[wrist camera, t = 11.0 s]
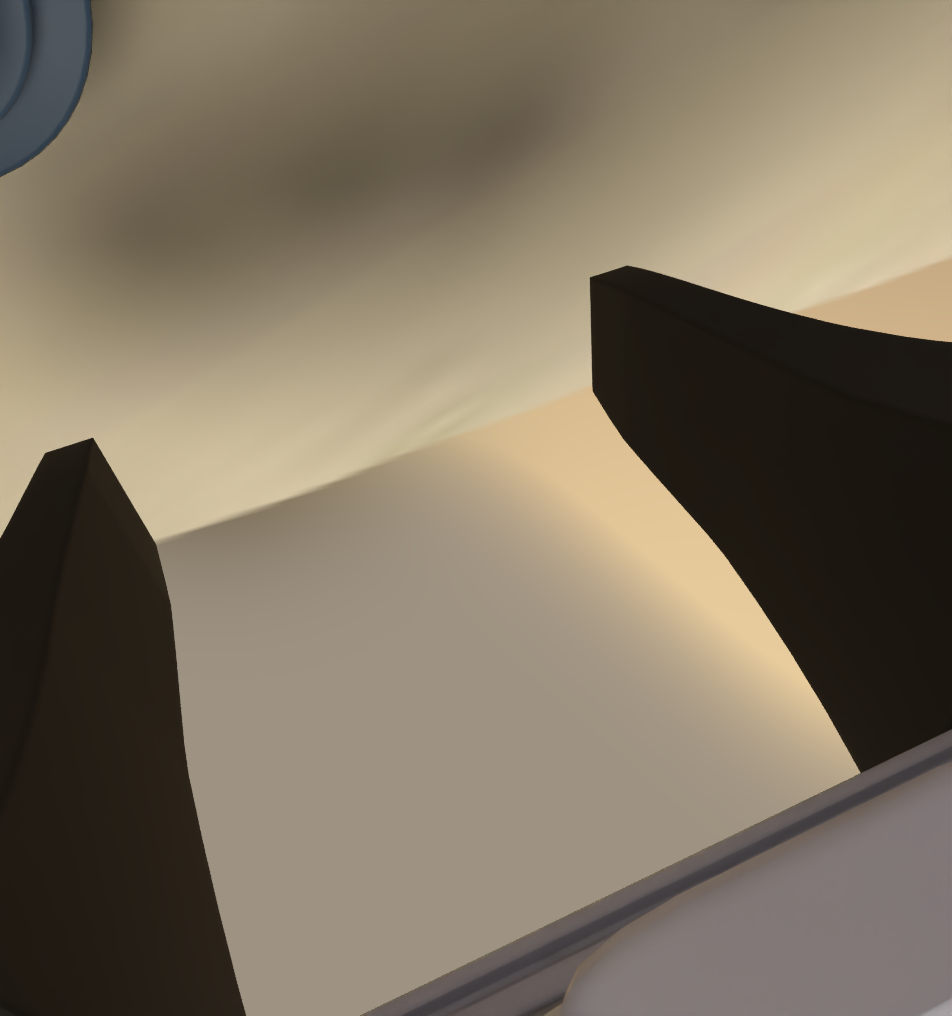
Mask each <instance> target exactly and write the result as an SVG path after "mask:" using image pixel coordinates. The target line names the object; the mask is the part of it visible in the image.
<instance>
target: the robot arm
mask: <svg viewBox="0 0 952 1016" xmlns="http://www.w3.org/2000/svg"><path fill="white" fill-rule="evenodd" d="M590 301H591V344H592V386H593V392H594V394H595V396H596V397H597V399H598V400H599V402H600V404H601V405H602V407H603V409H604V410H605V412H606V413H607V415H608V417H609V418H610V420H611V421H612V423H613V424H614V426H615V427H616V428H617V430H618V432H619V433H620V435H621V436H622V438H623V439H624V440H625V441H626V443H627V444H628V445H629V446H630V447H631V449H632V450H633V451H634V452H635V453H636V454H637V456H638V457H639V458H640V459H641V460H642V461H643V462H644V464H646V466H647V467H648V468H649V469H650V470H651V472H652V473H653V474H654V475H655V476H656V477H657V478H658V479H659V480H660V481H661V483H662V484H663V485H664V486H665V487H666V488H667V490H668V491H669V492H670V493H671V494H672V495H673V496H674V497H675V498H676V500H677V501H678V502H679V503H680V504H681V505H682V506H683V507H684V509H685V510H686V511H687V512H688V513H689V514H690V515H691V516H692V518H693V519H694V520H695V521H696V522H697V523H698V524H699V525H700V526H701V528H702V529H703V530H704V531H705V532H706V533H707V534H708V535H709V537H710V538H711V539H712V540H713V542H714V543H715V544H716V545H717V547H718V548H719V549H720V550H721V552H722V553H723V554H724V555H725V557H726V558H727V559H728V560H729V562H730V564H731V565H732V567H733V568H734V569H735V571H736V572H737V574H738V575H739V576H740V578H741V579H742V581H743V582H744V584H745V585H746V586H747V588H748V589H749V591H750V592H751V593H752V595H753V597H754V598H755V599H756V601H757V602H758V604H759V605H760V607H761V608H762V610H763V611H764V613H765V614H766V616H767V617H768V619H769V620H770V622H771V624H772V625H773V627H774V628H775V630H776V631H777V633H778V634H779V636H780V637H781V639H782V640H783V642H784V643H785V645H786V646H787V648H788V649H789V651H790V652H791V654H792V656H793V657H794V659H795V661H796V662H797V664H798V666H799V667H800V669H801V671H802V672H803V674H804V675H805V677H806V679H807V680H808V682H809V684H810V685H811V687H812V689H813V690H814V692H815V693H816V695H817V697H818V698H819V700H820V702H821V703H822V705H823V707H824V708H825V710H826V712H827V713H828V715H829V717H830V719H831V721H832V722H833V724H834V726H835V728H836V730H837V731H838V733H839V735H840V736H841V738H842V740H843V742H844V744H845V745H846V747H847V749H848V751H849V753H850V754H851V756H852V758H853V760H854V762H855V763H856V765H857V767H858V769H859V771H860V772H861V773H860V774H858V775H856V776H854V777H852V778H850V779H848V780H846V781H844V782H842V783H840V784H838V785H836V786H833V787H832V788H829V789H827V790H825V791H823V792H821V793H819V794H817V795H815V796H813V797H811V798H809V799H807V800H805V801H803V802H800V803H799V804H796V805H794V806H792V807H790V808H788V809H786V810H784V811H782V812H780V813H778V814H776V815H774V816H772V817H770V818H767V819H765V820H763V821H761V822H760V823H757V824H755V825H753V826H751V827H749V828H747V829H745V830H743V831H741V832H739V833H736V834H734V835H732V836H730V837H728V838H726V839H724V840H722V841H720V842H718V843H716V844H714V845H712V846H710V847H708V848H705V849H703V850H701V851H699V852H697V853H695V854H693V855H691V856H689V857H687V858H685V859H683V860H681V861H679V862H676V863H674V864H672V865H670V866H668V867H666V868H664V869H662V870H660V871H658V872H656V873H654V874H652V875H650V876H648V877H646V878H643V879H641V880H639V881H637V882H635V883H633V884H631V885H629V886H627V887H625V888H623V889H621V890H619V891H617V892H615V893H613V894H610V895H608V896H606V897H604V898H602V899H600V900H598V901H596V902H594V903H592V904H590V905H588V906H586V907H584V908H581V909H580V910H577V911H575V912H573V913H571V914H569V915H567V916H565V917H563V918H561V919H559V920H557V921H555V922H553V923H550V924H548V925H546V926H544V927H542V928H540V929H538V930H536V931H534V932H532V933H530V934H528V935H526V936H524V937H522V938H520V939H517V940H515V941H513V942H511V943H509V944H507V945H505V946H503V947H501V948H499V949H497V950H495V951H493V952H491V953H489V954H486V955H484V956H482V957H480V958H478V959H476V960H474V961H472V962H470V963H468V964H466V965H464V966H462V967H460V968H458V969H456V970H453V971H451V972H449V973H447V974H445V975H443V976H441V977H439V978H437V979H435V980H433V981H431V982H429V983H427V984H424V985H423V986H420V987H418V988H416V989H414V990H412V991H410V992H408V993H406V994H404V995H402V996H400V997H398V998H396V999H393V1000H392V1001H389V1002H387V1003H385V1004H383V1005H381V1006H379V1007H377V1008H375V1009H373V1010H371V1011H369V1012H367V1013H365V1014H362V1015H360V1016H952V342H943V341H934V340H926V339H919V338H911V337H904V336H898V335H892V334H887V333H881V332H875V331H869V330H864V329H858V328H852V327H848V326H843V325H838V324H834V323H829V322H825V321H821V320H817V319H813V318H809V317H805V316H801V315H797V314H793V313H789V312H785V311H781V310H778V309H774V308H771V307H767V306H764V305H760V304H757V303H753V302H750V301H747V300H743V299H740V298H737V297H734V296H730V295H727V294H724V293H721V292H717V291H714V290H711V289H708V288H705V287H702V286H699V285H695V284H692V283H689V282H686V281H683V280H680V279H676V278H673V277H670V276H666V275H663V274H660V273H656V272H653V271H649V270H645V269H641V268H636V267H632V266H624V267H621V268H618V269H615V270H612V271H609V272H606V273H603V274H599V275H596V276H593V277H590ZM180 705H181V704H180V694H179V683H178V671H177V661H176V650H175V641H174V630H173V620H172V611H171V604H170V600H169V596H168V591H167V586H166V582H165V578H164V574H163V570H162V566H161V562H160V558H159V554H158V551H157V546H156V544H155V542H154V540H153V539H152V537H151V535H150V533H149V532H148V530H147V528H146V527H145V525H144V523H143V522H142V520H141V518H140V517H139V515H138V513H137V511H136V510H135V508H134V506H133V505H132V503H131V501H130V500H129V498H128V496H127V494H126V493H125V491H124V489H123V488H122V486H121V484H120V483H119V481H118V479H117V478H116V476H115V474H114V472H113V471H112V469H111V467H110V466H109V464H108V462H107V461H106V459H105V457H104V456H103V454H102V452H101V450H100V449H99V447H98V445H97V444H96V442H95V440H94V439H93V438H91V439H87V440H84V441H81V442H78V443H75V444H72V445H69V446H66V447H63V448H60V449H56V450H53V451H50V452H47V453H45V455H44V456H43V458H42V460H41V462H40V463H39V465H38V467H37V469H36V471H35V473H34V475H33V477H32V479H31V481H30V483H29V485H28V487H27V489H26V490H25V492H24V494H23V496H22V498H21V500H20V502H19V504H18V506H17V508H16V510H15V512H14V514H13V516H12V518H11V520H10V521H9V523H8V525H7V527H6V529H5V531H4V533H3V535H2V536H1V538H0V1016H246V1014H245V1010H244V1006H243V1003H242V999H241V995H240V992H239V988H238V984H237V981H236V977H235V973H234V969H233V965H232V961H231V957H230V953H229V949H228V945H227V941H226V937H225V933H224V929H223V925H222V921H221V917H220V913H219V909H218V905H217V901H216V896H215V892H214V888H213V883H212V880H211V875H210V871H209V866H208V862H207V858H206V854H205V849H204V844H203V840H202V836H201V831H200V826H199V822H198V817H197V812H196V807H195V803H194V798H193V793H192V789H191V784H190V779H189V774H188V767H187V760H186V754H185V746H184V737H183V726H182V715H181V706H180Z"/></svg>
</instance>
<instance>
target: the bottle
mask: <svg viewBox="0 0 952 1016" xmlns="http://www.w3.org/2000/svg"><path fill="white" fill-rule="evenodd" d="M92 33H93V21H92V10H91V0H0V177H1V176H3V175H5V174H7V173H9V172H11V171H13V170H15V169H17V168H19V167H21V166H23V165H24V164H26V163H27V162H28V161H30V160H31V159H33V158H34V157H35V156H37V155H38V154H40V153H41V152H42V151H43V150H44V149H45V148H46V147H47V146H48V145H49V144H50V143H51V142H52V141H53V140H54V139H55V138H56V137H57V136H58V134H59V133H60V131H61V130H62V129H63V127H64V126H65V125H66V123H67V122H68V121H69V119H70V117H71V115H72V113H73V111H74V109H75V108H76V106H77V104H78V102H79V100H80V97H81V94H82V91H83V88H84V85H85V82H86V79H87V76H88V70H89V65H90V59H91V53H92Z"/></svg>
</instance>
